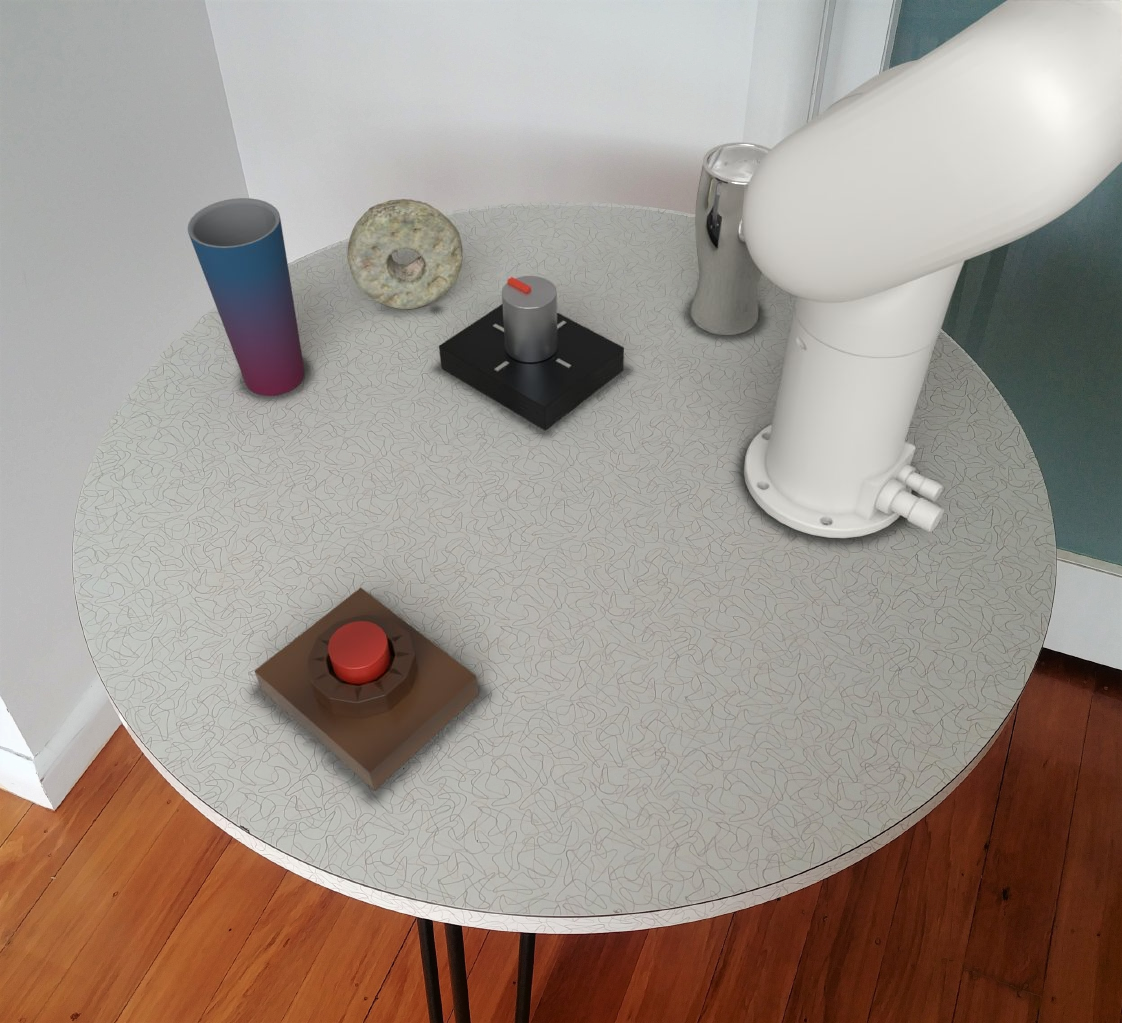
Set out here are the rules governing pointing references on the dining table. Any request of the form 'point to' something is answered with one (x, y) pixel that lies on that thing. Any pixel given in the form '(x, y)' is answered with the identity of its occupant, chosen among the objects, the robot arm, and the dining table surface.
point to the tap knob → (530, 318)
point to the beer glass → (725, 241)
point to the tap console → (532, 368)
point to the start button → (359, 652)
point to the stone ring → (398, 230)
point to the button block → (369, 691)
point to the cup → (251, 290)
